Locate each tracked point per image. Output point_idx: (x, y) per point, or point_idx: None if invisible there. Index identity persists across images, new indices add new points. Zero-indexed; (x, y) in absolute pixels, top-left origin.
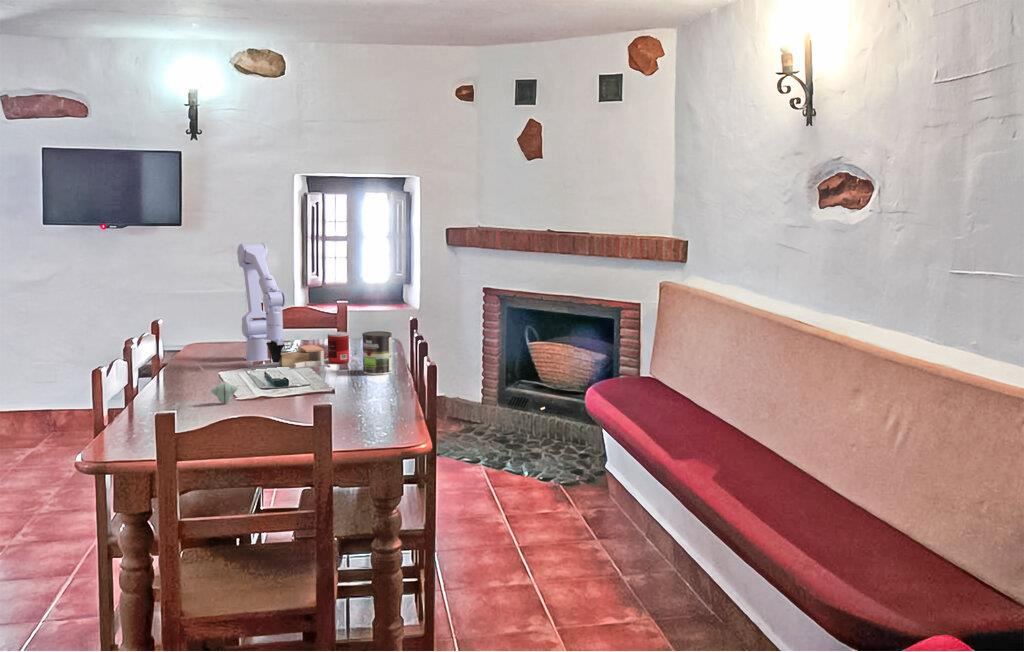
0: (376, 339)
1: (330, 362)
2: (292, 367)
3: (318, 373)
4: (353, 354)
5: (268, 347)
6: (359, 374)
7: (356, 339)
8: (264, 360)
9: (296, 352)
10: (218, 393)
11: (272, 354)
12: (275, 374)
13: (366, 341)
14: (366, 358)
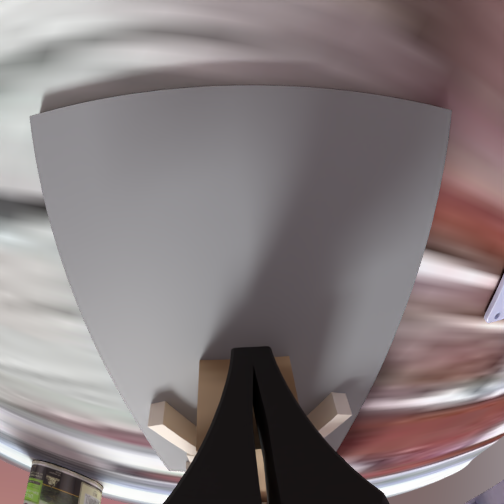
0: None
1: None
2: (165, 396)
3: (43, 415)
4: None
5: (328, 473)
6: (39, 455)
7: (481, 452)
8: (500, 291)
9: (261, 488)
10: None
11: (213, 418)
12: (5, 266)
13: None
14: (31, 497)
